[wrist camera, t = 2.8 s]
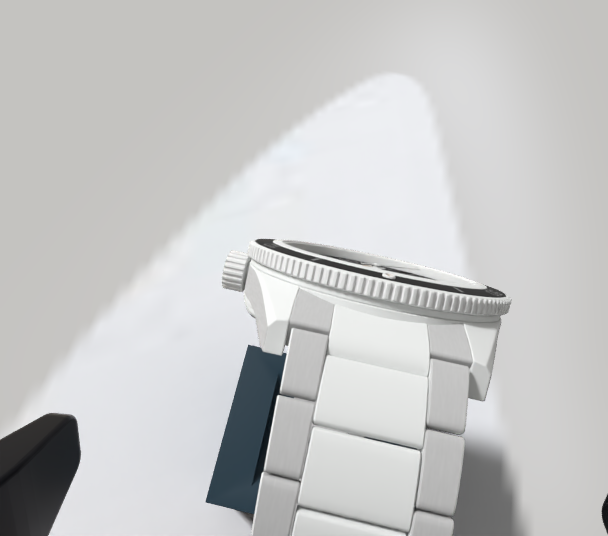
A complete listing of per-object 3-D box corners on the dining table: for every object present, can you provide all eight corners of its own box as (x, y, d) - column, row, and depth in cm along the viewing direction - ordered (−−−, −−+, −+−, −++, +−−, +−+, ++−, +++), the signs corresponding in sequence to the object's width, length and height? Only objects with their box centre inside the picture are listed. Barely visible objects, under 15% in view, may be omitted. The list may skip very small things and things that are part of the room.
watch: (411, 347, 17) (589, 174, 7) (380, 602, 14) (621, 942, 4) (265, 314, 17) (237, 105, 7) (201, 557, 14) (-1, 766, 4)
